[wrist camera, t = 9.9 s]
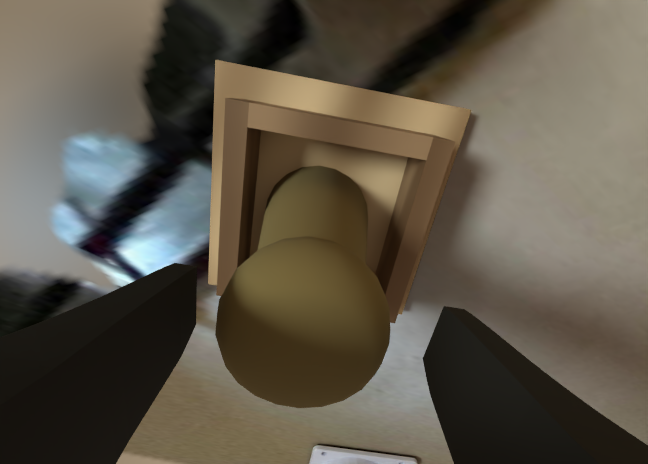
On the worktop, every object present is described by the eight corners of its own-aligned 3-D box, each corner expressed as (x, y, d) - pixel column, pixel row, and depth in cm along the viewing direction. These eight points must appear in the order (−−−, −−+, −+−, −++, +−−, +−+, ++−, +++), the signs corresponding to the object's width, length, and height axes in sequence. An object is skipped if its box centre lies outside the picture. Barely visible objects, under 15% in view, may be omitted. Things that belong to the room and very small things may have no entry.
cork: (355, 152, 16) (396, 233, 6) (377, 250, 19) (433, 424, 9) (250, 181, 17) (135, 294, 7) (283, 271, 19) (233, 455, 9)
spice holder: (465, 109, 16) (502, 111, 13) (399, 307, 21) (413, 347, 18) (220, 61, 16) (189, 49, 12) (212, 277, 21) (188, 313, 17)
